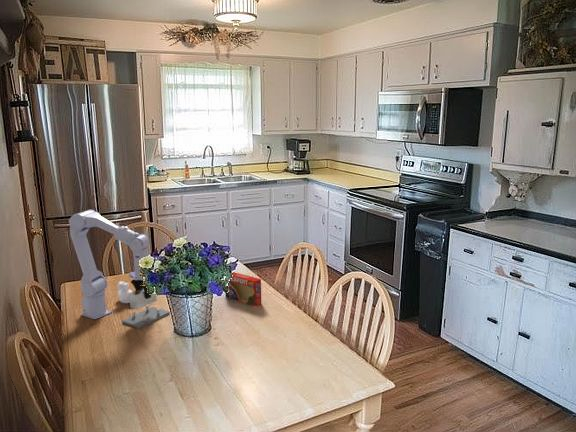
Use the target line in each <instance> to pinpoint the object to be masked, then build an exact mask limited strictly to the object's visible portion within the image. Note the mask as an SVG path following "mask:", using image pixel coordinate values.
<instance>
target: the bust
mask: <svg viewBox="0 0 576 432" xmlns="http://www.w3.org/2000/svg"><path fill="white" fill-rule="evenodd" d="M130 285H131V284H130V283H128V282H126V281H123V280H121V281H119V282H118V283H117V285H116V288H117V289H118V290H117V296H118V300H119V302H120V303H122V304H126V305H127V304H130V298H129V293H131V292H133V291H132V289H130V288H129V286H130Z"/></svg>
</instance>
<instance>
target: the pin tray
mask: <svg viewBox="0 0 576 432" xmlns="http://www.w3.org/2000/svg"><path fill="white" fill-rule="evenodd" d="M149 305H150V304H148V305H146V306H145V310H143V311H141V312H139V313H136V311H135V310H133V311H132V312H131V313H132V314H131V315H132V316H129V317H128V318H125V319H123V320H122V321H121V322H122V324H124V325H127V326H129V327H132V328H135V329H138V330H140V329H142V328H144V327H146V326H149V325H150V324H152V323H154V322H156V321H158V320H160V319H163V318H164V317H167V316H168V315H170V314H171V313H170V311H169V310H165V309H163V308H160V307H159V308H158V307H155V306H151V307H150V306H149Z"/></svg>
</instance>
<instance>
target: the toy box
mask: <svg viewBox="0 0 576 432" xmlns="http://www.w3.org/2000/svg"><path fill="white" fill-rule="evenodd" d="M232 272H233V278H232V279H230V281H229V283H228V286H229V292H228V293H226V292H225V298H226V299H229V300H232V301H235V302H238V303H242V304H245V305H249V306H252V307H254V306H255V308H257V307H259V306H260V305H262V279H261V278H259V277H258V278H257V277H253V276H250V275H246V274H242V273H239V272H235V271H232Z"/></svg>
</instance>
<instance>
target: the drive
mask: <svg viewBox="0 0 576 432" xmlns="http://www.w3.org/2000/svg"><path fill="white" fill-rule="evenodd" d="M129 298H130V303H129V304H130V307H129V308H131V309H133V310H134V309H135V310H139V309H142V308H144V307H146V305H150V304H152V303H155V302H156V301H157V299H158V298H157V293H156V294H151V298H148V299H146V298H145V293H144V289H143V288H141V289H138V290H134V291H132V292H131V293H129Z"/></svg>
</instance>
